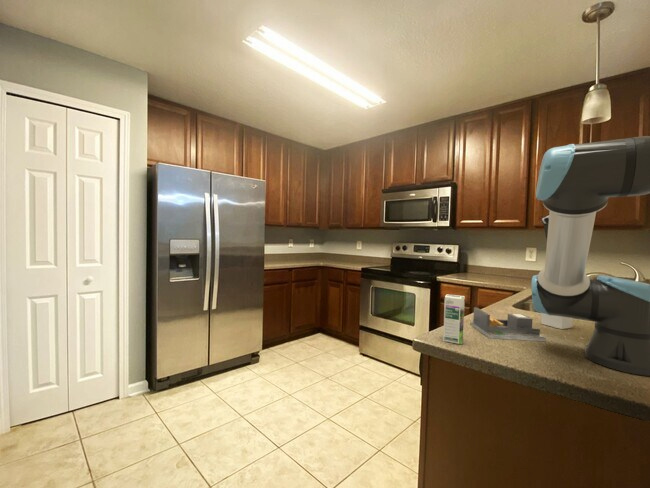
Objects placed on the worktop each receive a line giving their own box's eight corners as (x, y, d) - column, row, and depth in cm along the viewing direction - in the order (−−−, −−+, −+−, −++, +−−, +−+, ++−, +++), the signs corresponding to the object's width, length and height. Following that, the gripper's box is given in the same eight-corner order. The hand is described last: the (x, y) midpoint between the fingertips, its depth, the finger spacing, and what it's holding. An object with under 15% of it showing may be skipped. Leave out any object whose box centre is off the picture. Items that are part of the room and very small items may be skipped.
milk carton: (540, 324, 115) (543, 276, 114) (551, 322, 118) (553, 275, 117) (561, 329, 109) (564, 279, 108) (572, 327, 112) (575, 278, 111)
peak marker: (504, 334, 97) (504, 323, 97) (499, 333, 97) (499, 323, 97) (489, 325, 107) (490, 315, 106) (485, 324, 107) (485, 315, 107)
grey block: (531, 331, 100) (532, 318, 100) (516, 330, 101) (517, 317, 100) (521, 326, 106) (522, 313, 106) (507, 325, 107) (507, 313, 106)
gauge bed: (546, 341, 96) (547, 319, 95) (488, 338, 97) (489, 316, 97) (519, 326, 111) (520, 308, 110) (470, 324, 112) (471, 305, 112)
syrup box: (442, 341, 93) (444, 296, 92) (444, 336, 98) (446, 293, 97) (462, 345, 90) (464, 298, 90) (463, 339, 95) (465, 295, 95)
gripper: (574, 200, 105) (570, 265, 106) (536, 199, 106) (533, 263, 107) (591, 197, 98) (587, 267, 99) (550, 196, 99) (547, 265, 100)
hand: (559, 265), depth 103 cm, fingers closed
